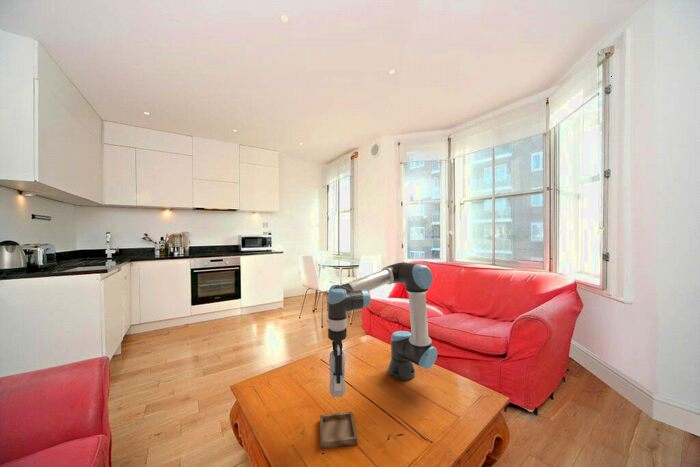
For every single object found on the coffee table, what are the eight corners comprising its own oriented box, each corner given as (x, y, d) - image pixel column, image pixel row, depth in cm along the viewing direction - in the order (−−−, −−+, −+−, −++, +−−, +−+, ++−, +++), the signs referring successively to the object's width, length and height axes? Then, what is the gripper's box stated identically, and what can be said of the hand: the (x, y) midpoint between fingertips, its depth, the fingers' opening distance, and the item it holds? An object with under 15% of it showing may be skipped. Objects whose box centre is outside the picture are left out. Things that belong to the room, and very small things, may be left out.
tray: (352, 417, 108) (352, 411, 108) (357, 444, 94) (357, 438, 94) (320, 420, 106) (320, 415, 106) (320, 448, 92) (320, 442, 92)
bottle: (329, 389, 103) (328, 341, 103) (345, 388, 104) (344, 341, 104) (329, 400, 96) (328, 349, 96) (346, 399, 97) (346, 348, 97)
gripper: (327, 320, 109) (327, 372, 109) (329, 338, 90) (329, 401, 90) (343, 319, 110) (344, 370, 110) (349, 337, 91) (349, 399, 91)
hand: (337, 384), depth 100 cm, fingers closed on bottle, 6 cm apart
